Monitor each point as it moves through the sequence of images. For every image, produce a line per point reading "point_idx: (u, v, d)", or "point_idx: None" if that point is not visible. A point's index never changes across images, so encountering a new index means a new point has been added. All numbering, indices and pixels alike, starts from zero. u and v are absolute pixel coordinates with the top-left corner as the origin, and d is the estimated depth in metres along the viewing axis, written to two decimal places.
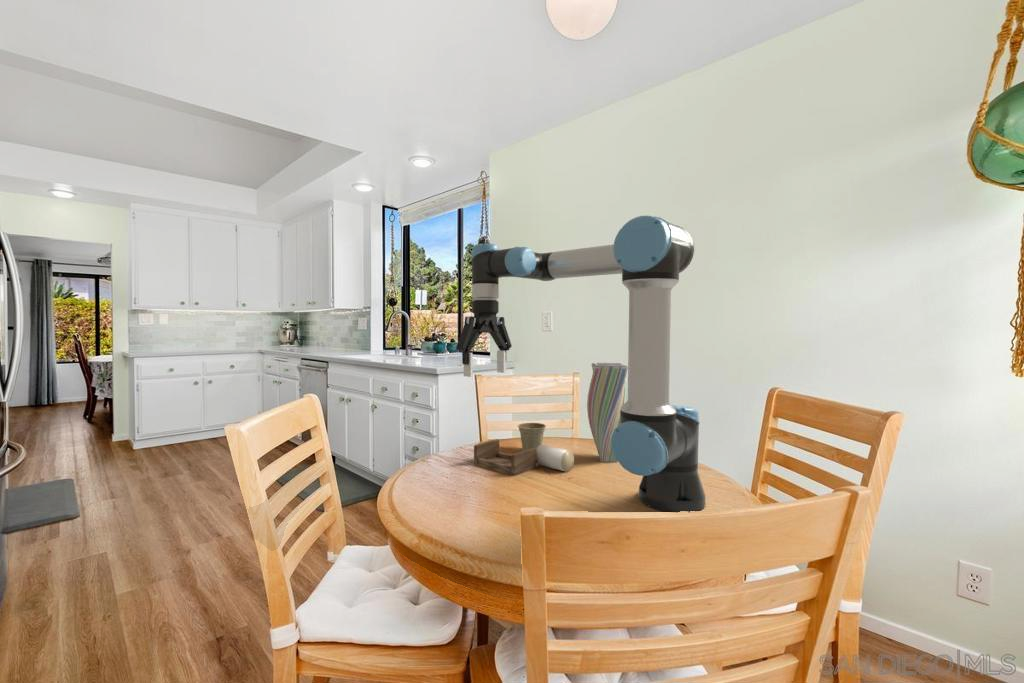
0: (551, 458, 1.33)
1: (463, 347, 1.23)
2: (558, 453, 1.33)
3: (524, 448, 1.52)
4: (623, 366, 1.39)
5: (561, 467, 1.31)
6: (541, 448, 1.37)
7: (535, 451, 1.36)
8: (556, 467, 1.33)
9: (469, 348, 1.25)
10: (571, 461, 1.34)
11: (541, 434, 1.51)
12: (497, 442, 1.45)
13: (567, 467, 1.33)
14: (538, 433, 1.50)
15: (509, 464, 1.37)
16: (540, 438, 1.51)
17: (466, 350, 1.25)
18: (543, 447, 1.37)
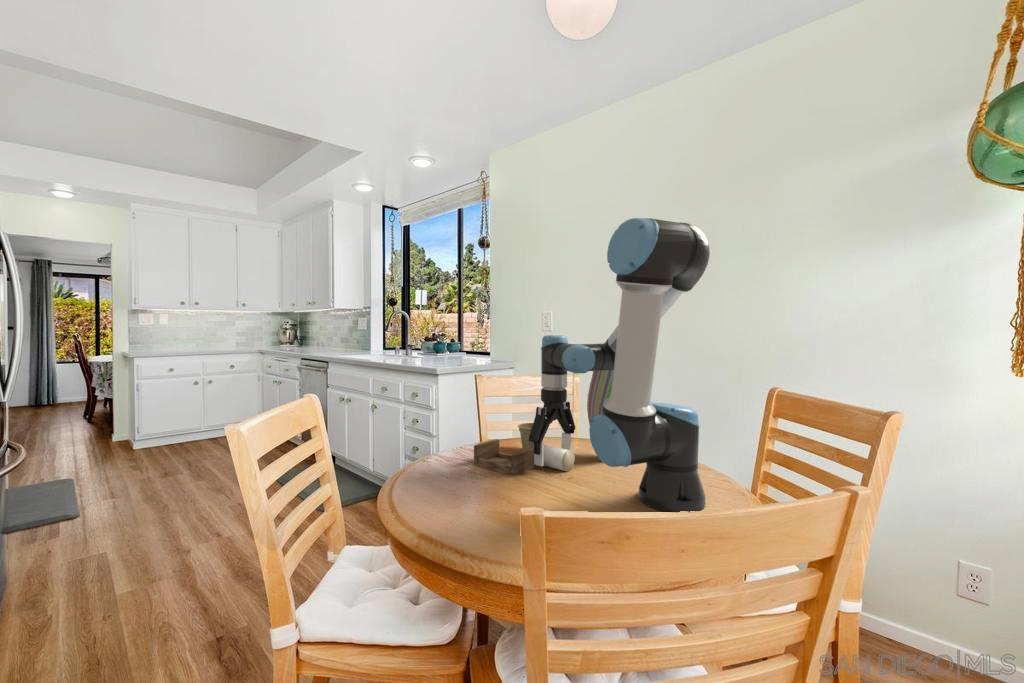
0: (552, 457, 1.34)
1: (536, 439, 1.28)
2: (559, 452, 1.33)
3: (524, 448, 1.52)
4: None
5: (561, 466, 1.31)
6: None
7: None
8: (556, 466, 1.33)
9: (541, 439, 1.29)
10: (572, 461, 1.34)
11: None
12: (497, 442, 1.45)
13: (567, 467, 1.33)
14: None
15: (509, 464, 1.37)
16: None
17: (538, 441, 1.29)
18: (544, 446, 1.38)
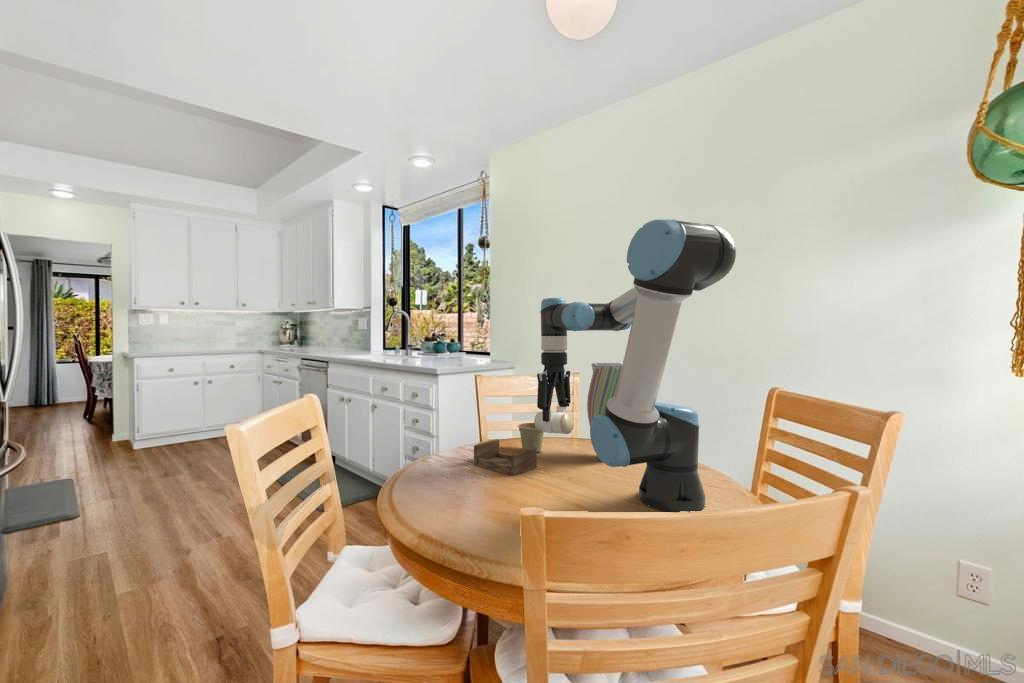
0: None
1: (544, 406, 1.29)
2: (556, 417, 1.32)
3: (524, 448, 1.52)
4: None
5: (561, 430, 1.30)
6: (540, 415, 1.36)
7: (535, 451, 1.36)
8: (556, 431, 1.32)
9: (549, 406, 1.31)
10: (571, 423, 1.33)
11: (541, 434, 1.51)
12: (497, 442, 1.45)
13: (567, 429, 1.32)
14: (538, 433, 1.50)
15: (509, 464, 1.37)
16: (540, 438, 1.51)
17: (547, 409, 1.31)
18: (542, 413, 1.36)
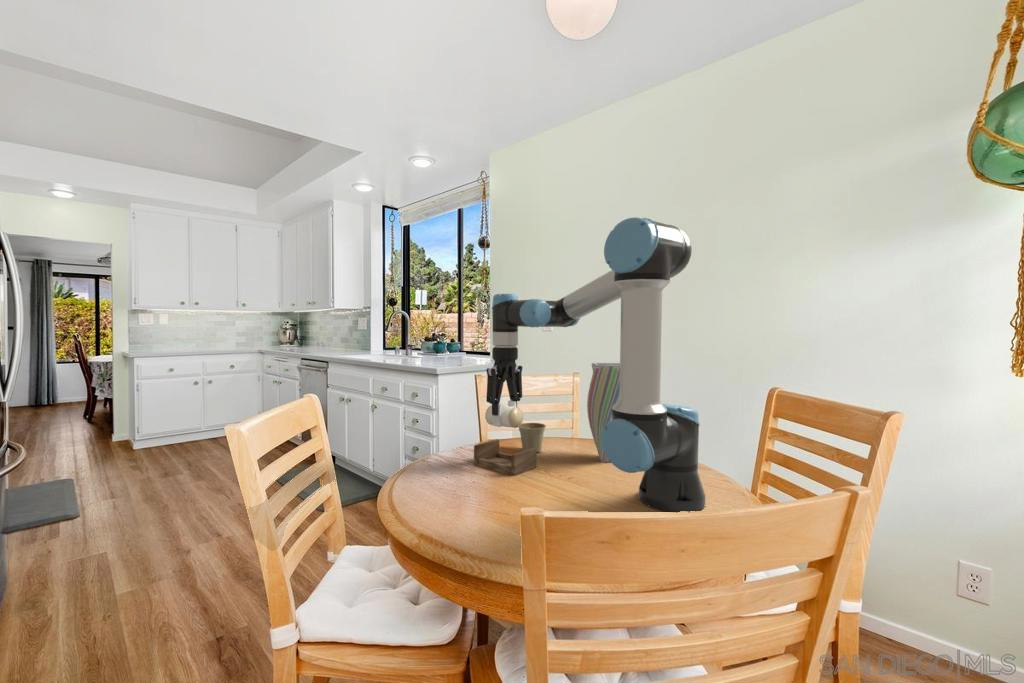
0: None
1: (493, 400, 1.31)
2: (505, 411, 1.34)
3: (524, 448, 1.52)
4: None
5: (509, 424, 1.33)
6: (491, 408, 1.38)
7: (535, 451, 1.36)
8: (505, 424, 1.34)
9: (498, 400, 1.33)
10: (520, 417, 1.35)
11: (541, 434, 1.51)
12: (497, 442, 1.45)
13: (516, 423, 1.34)
14: (538, 433, 1.50)
15: (509, 464, 1.37)
16: (540, 438, 1.51)
17: (496, 403, 1.33)
18: None
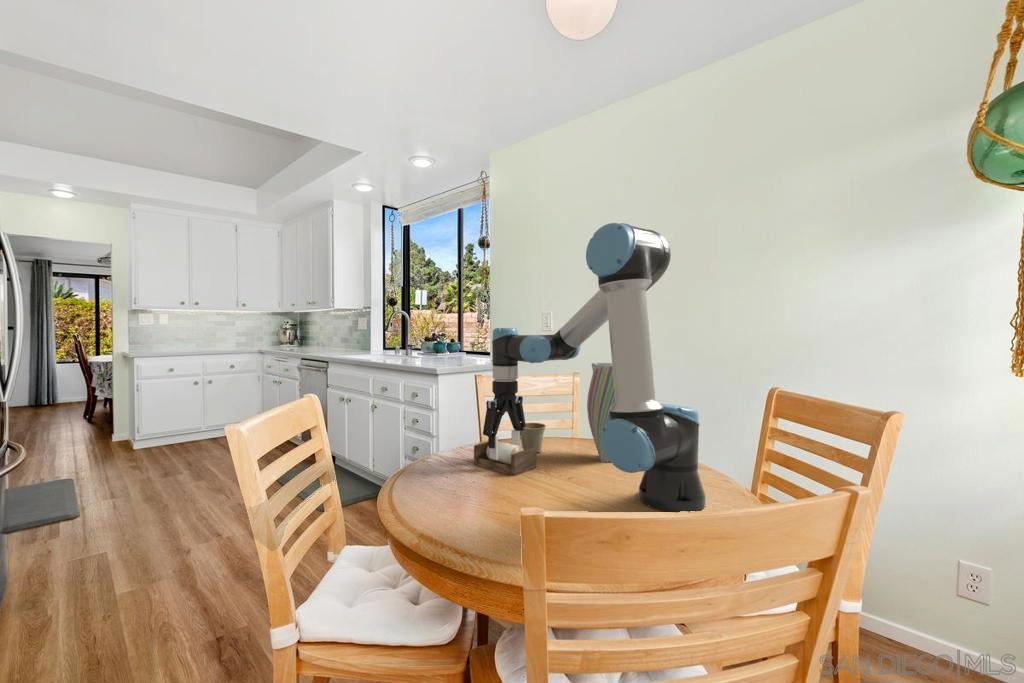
0: (501, 454, 1.35)
1: (489, 433, 1.31)
2: (508, 449, 1.34)
3: (524, 448, 1.52)
4: None
5: (510, 463, 1.33)
6: None
7: (535, 451, 1.36)
8: (506, 463, 1.34)
9: (495, 433, 1.32)
10: None
11: (541, 434, 1.51)
12: None
13: None
14: (538, 433, 1.50)
15: None
16: (540, 438, 1.51)
17: (492, 435, 1.32)
18: None
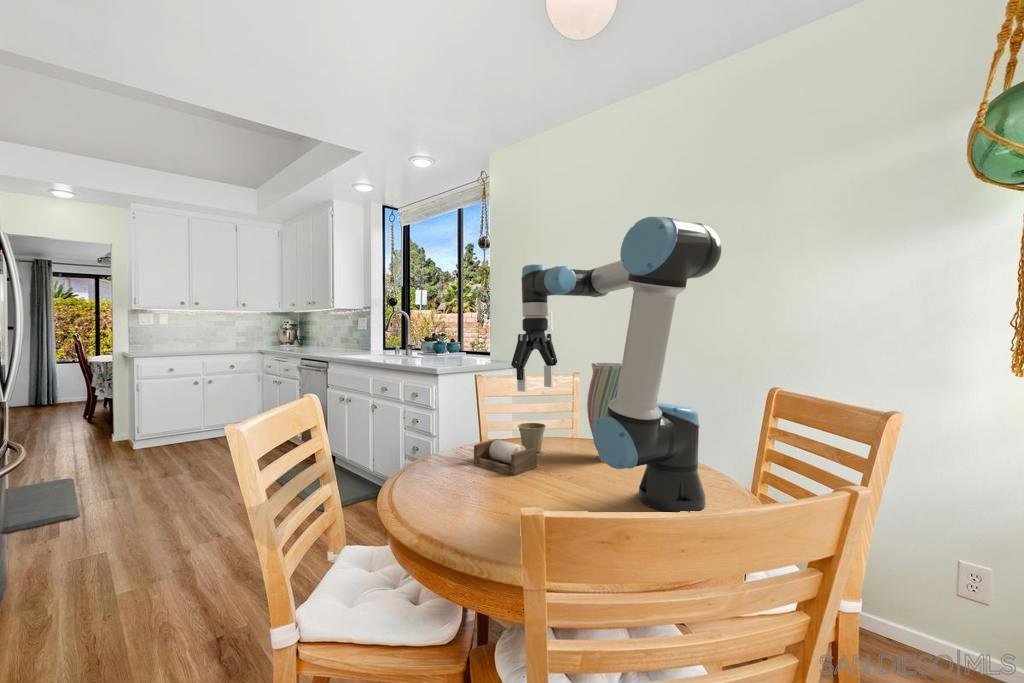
0: (504, 450, 1.36)
1: (518, 363, 1.29)
2: (512, 446, 1.35)
3: None
4: None
5: None
6: (497, 441, 1.40)
7: (535, 451, 1.36)
8: (507, 459, 1.35)
9: (523, 364, 1.31)
10: None
11: (541, 434, 1.51)
12: None
13: None
14: (538, 433, 1.50)
15: (509, 464, 1.37)
16: (540, 438, 1.51)
17: (521, 366, 1.31)
18: (499, 441, 1.40)
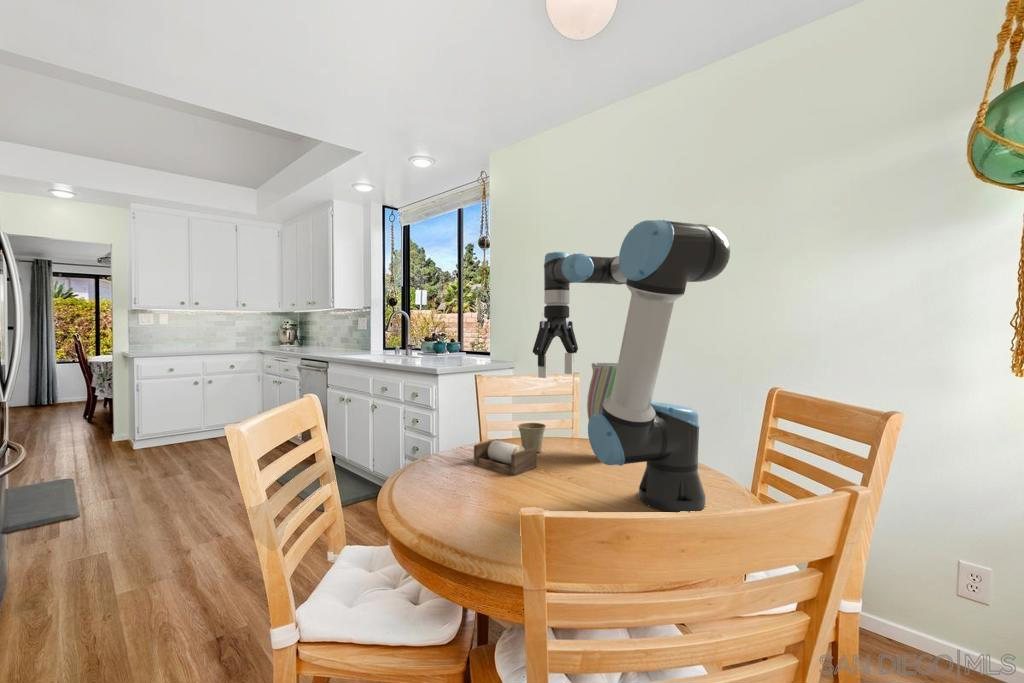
0: (502, 452, 1.35)
1: (540, 350, 1.31)
2: (510, 448, 1.35)
3: (524, 448, 1.52)
4: None
5: None
6: (495, 443, 1.39)
7: (535, 451, 1.36)
8: (507, 461, 1.35)
9: (544, 351, 1.33)
10: None
11: (541, 434, 1.51)
12: None
13: None
14: (538, 433, 1.50)
15: None
16: (540, 438, 1.51)
17: (542, 353, 1.32)
18: (497, 442, 1.39)
